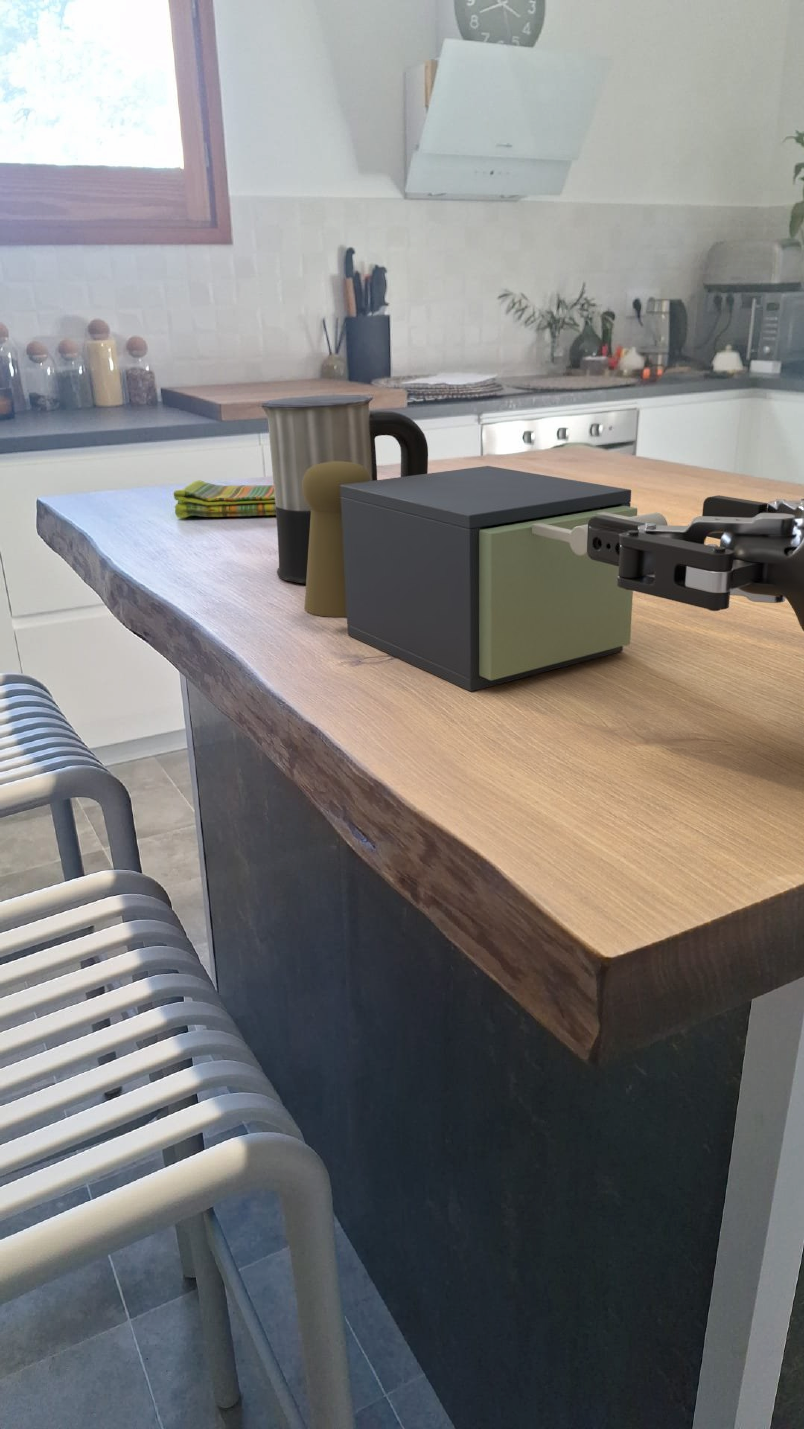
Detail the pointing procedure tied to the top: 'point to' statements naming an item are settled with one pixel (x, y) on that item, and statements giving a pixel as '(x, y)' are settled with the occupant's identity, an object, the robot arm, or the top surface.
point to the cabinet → (441, 559)
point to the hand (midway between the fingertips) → (651, 525)
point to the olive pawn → (327, 535)
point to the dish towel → (224, 500)
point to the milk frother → (327, 457)
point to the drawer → (548, 593)
